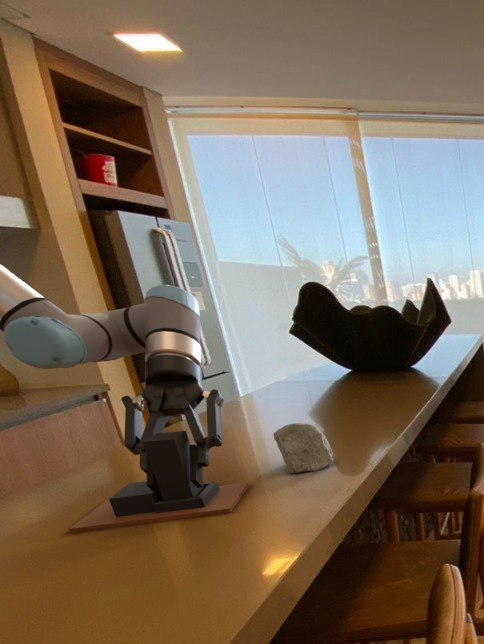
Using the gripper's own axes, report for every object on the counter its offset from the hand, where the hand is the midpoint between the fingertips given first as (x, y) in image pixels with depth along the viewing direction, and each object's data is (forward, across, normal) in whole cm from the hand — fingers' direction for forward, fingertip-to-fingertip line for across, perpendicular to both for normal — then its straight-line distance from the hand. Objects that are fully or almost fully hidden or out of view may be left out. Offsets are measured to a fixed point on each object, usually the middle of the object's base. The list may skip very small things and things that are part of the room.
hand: (175, 486), depth 89 cm
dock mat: (+1, +3, -6) cm, 6 cm away
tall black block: (0, 0, -5) cm, 5 cm away
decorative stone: (-11, -16, -18) cm, 26 cm away
